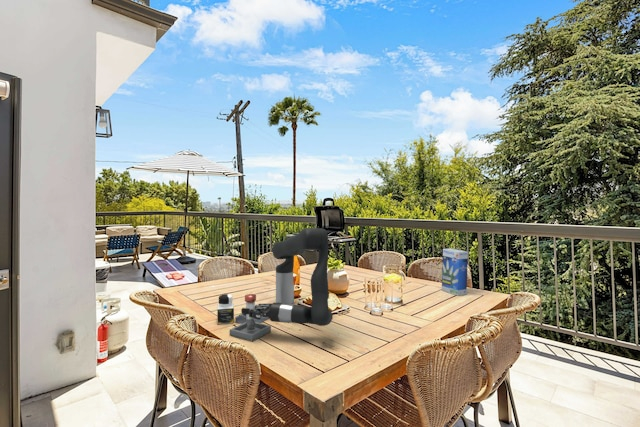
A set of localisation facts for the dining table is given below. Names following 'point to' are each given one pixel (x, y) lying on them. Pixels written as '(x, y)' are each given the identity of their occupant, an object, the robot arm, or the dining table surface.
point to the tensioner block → (242, 319)
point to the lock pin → (250, 304)
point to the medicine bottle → (225, 309)
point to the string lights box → (454, 271)
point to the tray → (250, 331)
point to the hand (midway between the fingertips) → (244, 309)
